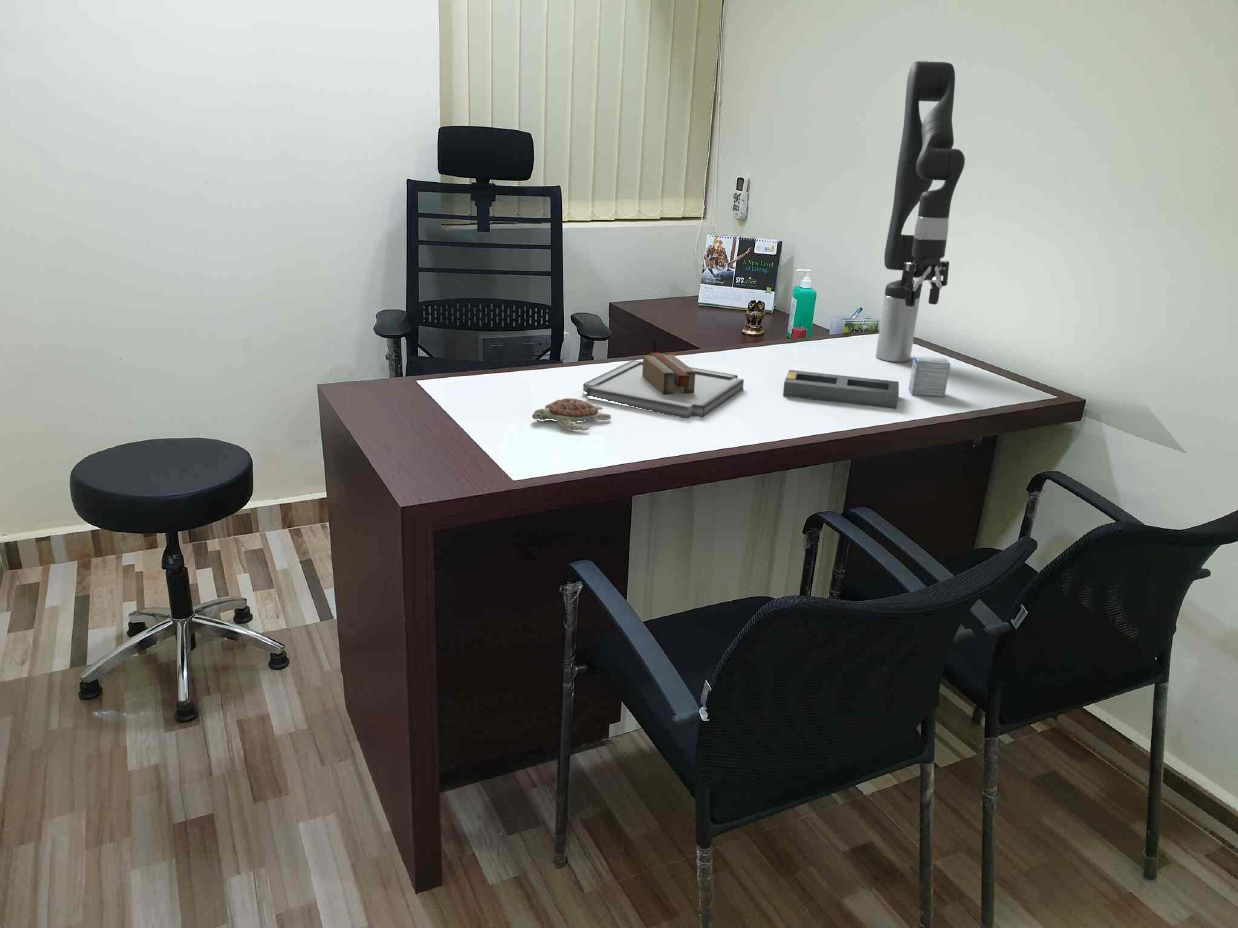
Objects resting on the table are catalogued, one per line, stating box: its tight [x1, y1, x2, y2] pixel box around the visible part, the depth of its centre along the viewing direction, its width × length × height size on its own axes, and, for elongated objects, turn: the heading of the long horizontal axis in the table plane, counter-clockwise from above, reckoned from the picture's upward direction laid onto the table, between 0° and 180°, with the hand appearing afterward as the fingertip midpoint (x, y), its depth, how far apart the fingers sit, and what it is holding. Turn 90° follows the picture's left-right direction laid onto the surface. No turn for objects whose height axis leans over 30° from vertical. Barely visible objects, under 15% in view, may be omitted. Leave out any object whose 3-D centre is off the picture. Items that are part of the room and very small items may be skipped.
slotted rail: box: [782, 369, 900, 410], centre depth 217 cm, size 11×26×4 cm, turn 74°
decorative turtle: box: [532, 397, 612, 431], centre depth 194 cm, size 18×17×5 cm
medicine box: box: [908, 356, 951, 398], centre depth 220 cm, size 8×4×9 cm, turn 84°
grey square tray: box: [582, 352, 745, 419], centre depth 214 cm, size 30×30×8 cm
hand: (921, 305), depth 223 cm, fingers open, 8 cm apart
